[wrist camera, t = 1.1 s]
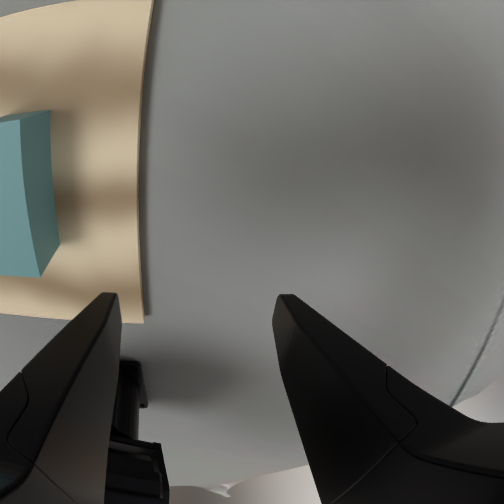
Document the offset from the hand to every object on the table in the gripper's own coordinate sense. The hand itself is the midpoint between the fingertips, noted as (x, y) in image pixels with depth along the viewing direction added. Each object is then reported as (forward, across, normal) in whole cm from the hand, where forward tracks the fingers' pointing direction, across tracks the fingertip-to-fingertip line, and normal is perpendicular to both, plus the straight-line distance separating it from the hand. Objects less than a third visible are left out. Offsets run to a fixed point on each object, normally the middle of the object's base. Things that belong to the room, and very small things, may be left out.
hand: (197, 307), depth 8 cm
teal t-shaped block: (+10, +15, 0) cm, 18 cm away
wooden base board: (+11, +16, 0) cm, 19 cm away
